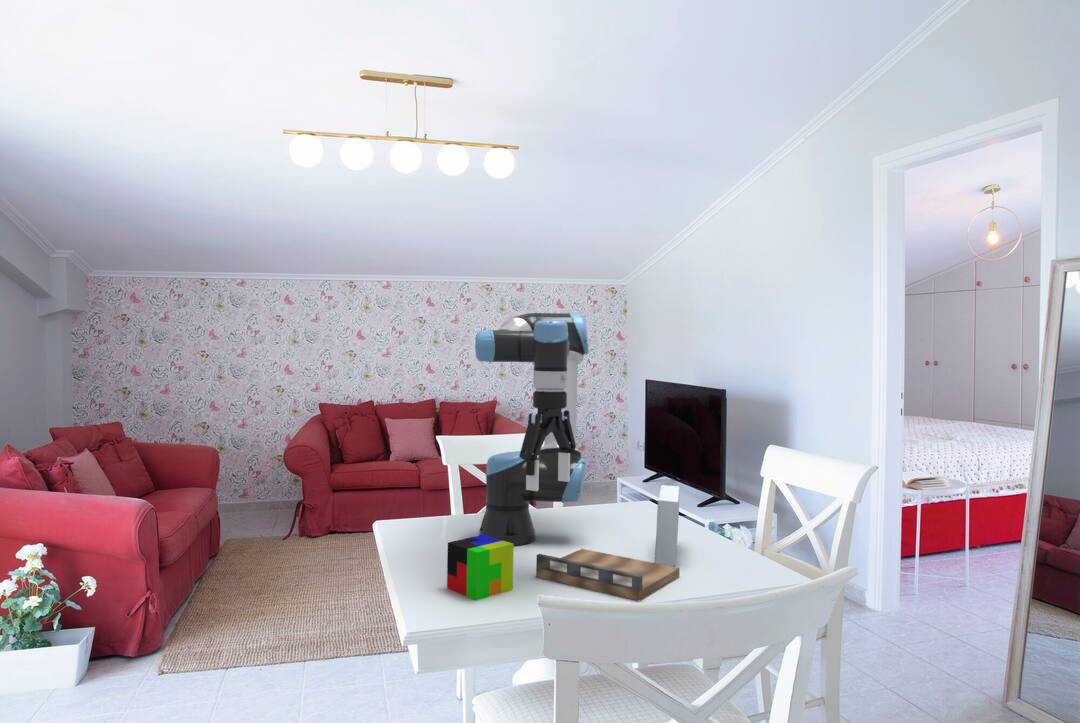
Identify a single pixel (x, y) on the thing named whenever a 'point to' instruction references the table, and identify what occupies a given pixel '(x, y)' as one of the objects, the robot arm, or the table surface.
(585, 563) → the brown piece
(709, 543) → the table surface
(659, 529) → the skincare box
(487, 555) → the puzzle toy
